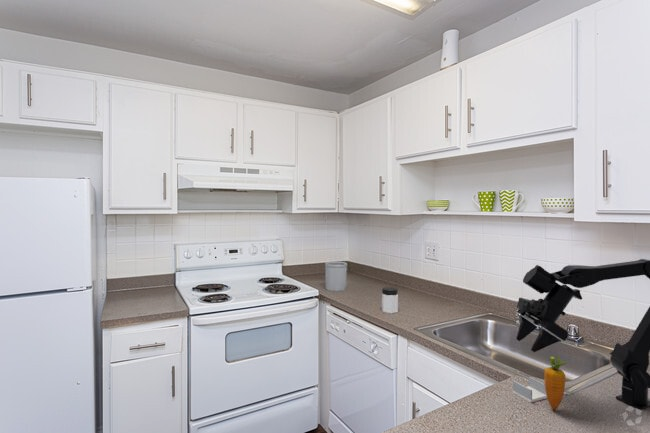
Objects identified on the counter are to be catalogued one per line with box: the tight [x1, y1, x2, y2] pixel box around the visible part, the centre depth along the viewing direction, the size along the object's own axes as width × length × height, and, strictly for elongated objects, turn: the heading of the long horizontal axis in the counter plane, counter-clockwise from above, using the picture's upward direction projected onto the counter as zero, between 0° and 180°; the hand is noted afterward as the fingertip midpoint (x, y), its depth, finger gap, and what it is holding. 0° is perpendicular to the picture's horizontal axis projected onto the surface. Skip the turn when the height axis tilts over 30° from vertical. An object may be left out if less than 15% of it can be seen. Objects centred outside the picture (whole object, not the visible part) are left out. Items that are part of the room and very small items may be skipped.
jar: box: [381, 286, 399, 314], centre depth 195 cm, size 9×8×12 cm
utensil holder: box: [324, 261, 348, 292], centre depth 246 cm, size 15×15×18 cm
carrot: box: [543, 356, 566, 411], centre depth 100 cm, size 5×5×15 cm
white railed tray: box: [512, 376, 548, 403], centre depth 108 cm, size 7×6×4 cm
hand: (524, 345), depth 109 cm, fingers open, 9 cm apart
